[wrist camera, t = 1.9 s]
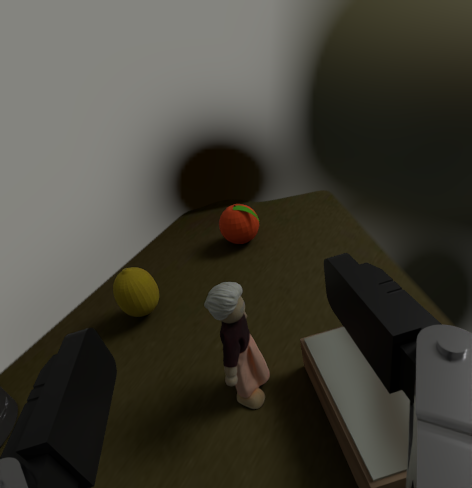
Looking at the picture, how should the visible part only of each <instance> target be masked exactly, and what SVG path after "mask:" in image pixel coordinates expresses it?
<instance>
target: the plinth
mask: <svg viewBox="0 0 472 488" xmlns="http://www.w3.org/2000/svg"><path fill="white" fill-rule="evenodd" d="M300 342H301V349H302V355H303V361H304V366H305V369H306V371H307V373H308V375H309V377H310V380H311V382H312V384H313V386H314V389H315V391H316V393H317V395H318V398H319V400H320V402H321V404H322V407H323V409H324V411H325V413H326V416H327V418H328V420H329V422H330V424H331V427H332V429H333V431H334V433H335V436H336V438H337V440H338V442H339V445H340V447H341V449H342V451H343V454H344V456H345V458H346V460H347V463H348V465H349V467H350V469H351V471H352V474H353V476H354V478H355V480H356V483H357V485H358V487H359V488H406V474H407V447H408V418H409V399H408V397H407V396H406V395H405V393H404V392H403V390H401V391H398V392H394V393H391V394H389V392H388V391H387V389H386V388H385V387H384V385H383V384H382V382H381V381H380V379H379V378H378V376H377V375H376V373H375V372H374V370H373V369H372V367H371V366H370V364H369V363H368V362H367V360H366V359H365V357H364V356H363V354H362V353H361V351H360V350H359V348H358V347H357V345H356V344H355V342H354V341H353V340H352V338H351V337H350V335H349V334H348V332H347V331H346V329H345V328H344V326H341V327H338V328H335V329H331V330H328V331H325V332H321V333H318V334H315V335H312V336H308V337H305V338H302V339H300Z"/></svg>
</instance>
